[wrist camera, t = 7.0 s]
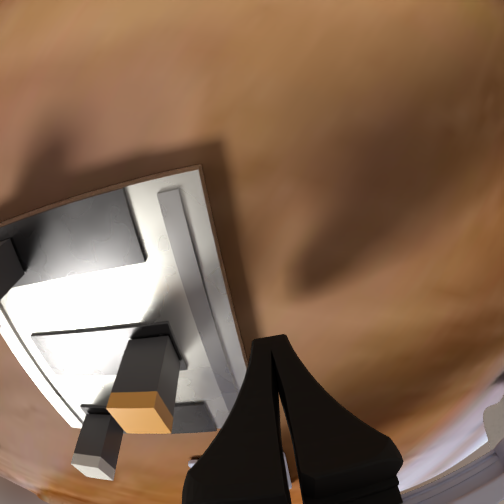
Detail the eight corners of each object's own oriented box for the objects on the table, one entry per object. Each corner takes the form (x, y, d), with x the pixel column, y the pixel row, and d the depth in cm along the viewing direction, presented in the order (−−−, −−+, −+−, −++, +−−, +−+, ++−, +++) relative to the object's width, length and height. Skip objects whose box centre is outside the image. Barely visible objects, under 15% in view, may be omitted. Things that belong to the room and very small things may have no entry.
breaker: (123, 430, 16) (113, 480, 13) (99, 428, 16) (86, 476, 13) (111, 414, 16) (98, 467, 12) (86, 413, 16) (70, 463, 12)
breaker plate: (259, 408, 18) (261, 425, 17) (76, 415, 18) (71, 429, 17) (201, 163, 11) (197, 170, 10) (-31, 235, 12) (-45, 246, 10)
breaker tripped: (180, 363, 14) (171, 433, 10) (142, 366, 14) (126, 433, 10) (168, 335, 13) (153, 407, 9) (128, 340, 13) (106, 408, 9)
